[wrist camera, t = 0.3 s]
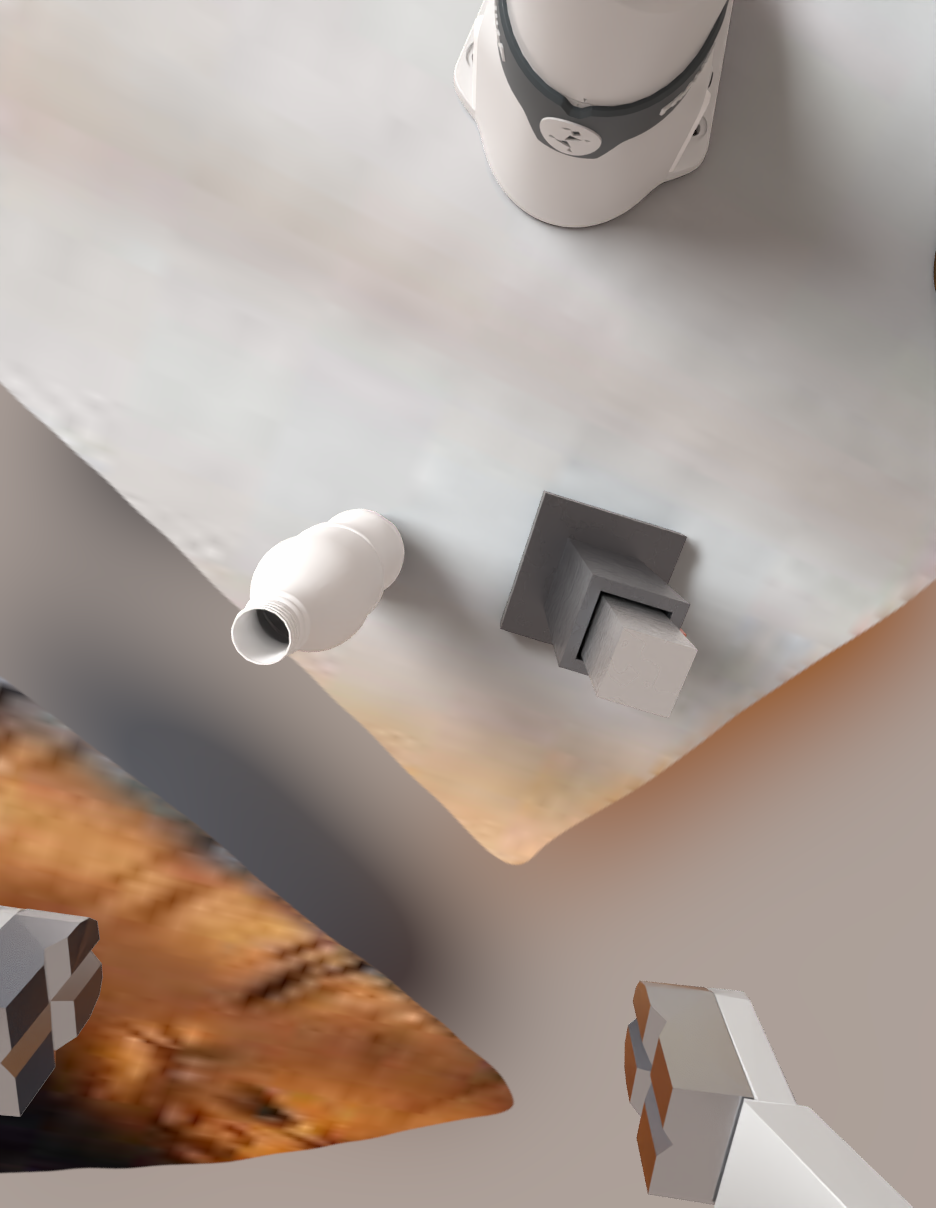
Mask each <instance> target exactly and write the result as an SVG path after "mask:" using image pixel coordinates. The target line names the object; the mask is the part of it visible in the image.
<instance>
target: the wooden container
mask: <svg viewBox="0 0 936 1208" xmlns="http://www.w3.org/2000/svg"><path fill="white" fill-rule="evenodd" d="M934 285H935V290H936V253H935V260H934Z"/></svg>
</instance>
